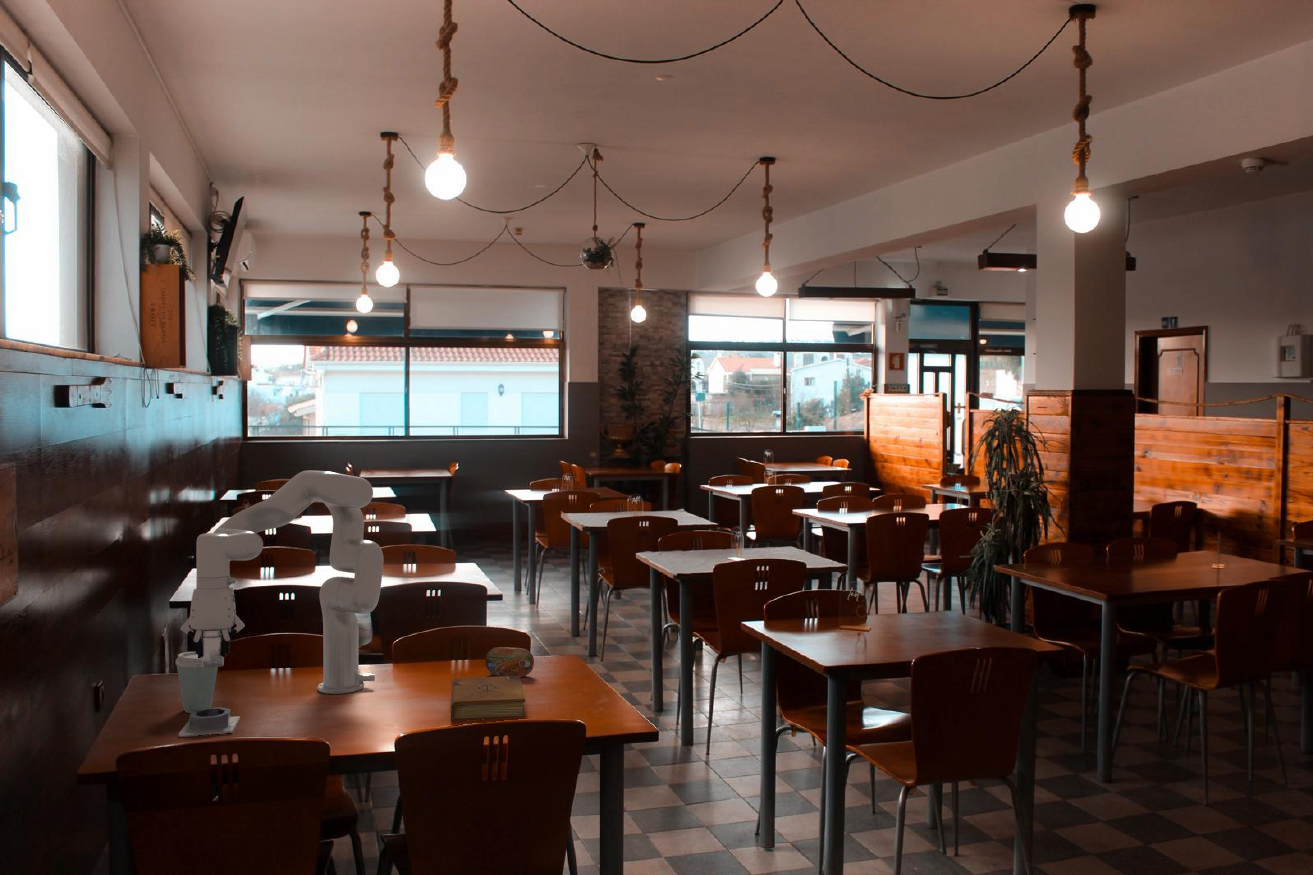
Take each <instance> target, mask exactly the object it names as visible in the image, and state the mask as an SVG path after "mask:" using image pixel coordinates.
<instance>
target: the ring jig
mask: <svg viewBox="0 0 1313 875" xmlns="http://www.w3.org/2000/svg"><path fill="white" fill-rule="evenodd" d="M231 711H232V709H231V708H226V707H221V706H220V707H219V706H218V707H211V708H204V709H201V710H197V711H193V712H192V713H190V714H189V719H188V721H187V722H186V724H185V725H184V726H183V727H182V729H181V730H180V731H179V733H178V737H179V738H182V737H184V738H185V737H198V735H203V736H212V735H211V734H220V735H224V734H223V733H227V732H230V733H231V732H233V733H234V731H235V730H236V728H237V726H238V724H239V722H240V721H241V716H239V715H238V716H232V715H231V714H232V712H231ZM239 720H240V721H239ZM237 723H238V724H237ZM234 729H235V730H234ZM205 734H206V735H205ZM207 734H209V735H207Z"/></svg>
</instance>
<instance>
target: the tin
mask: <svg viewBox="0 0 1313 875" xmlns="http://www.w3.org/2000/svg"><path fill="white" fill-rule="evenodd" d="M485 666H486V667H485V668H486V669H487V671H488V672H489V673H491V675H493V676H495V677H502V676H520V678H523V677H526V676H528V675H529V674H530V673H531V672H532V671H533V669H534V666H535V658H534V656H533V654H532V652H531V651H529V650H528V649H526V648H521V647H508V646H507V647H504V646H499V647H493V648H491V649H490V650H488V652H487V654H486V655H485Z"/></svg>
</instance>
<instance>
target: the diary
mask: <svg viewBox="0 0 1313 875" xmlns="http://www.w3.org/2000/svg"><path fill="white" fill-rule="evenodd" d="M521 678H522V677H520V676H484V677H482V676H480V677H462V678H461V677H459V678H454V679H453V680H452V681H451V689H450V690H451V692H450V695H451V696H450V700H451V701H450V703H451V704H450V721H452V722H453V723H454V722H468V721H467V720H477V721H491V720H494V721H496V720H514V719H515V720H517V719H526V713H525V709H524V703H525V702H526V696H525V691H524V687H523V684H522V679H521ZM483 719H484V720H483Z"/></svg>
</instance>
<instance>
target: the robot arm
mask: <svg viewBox="0 0 1313 875" xmlns="http://www.w3.org/2000/svg"><path fill="white" fill-rule="evenodd" d="M373 496H374V489H373V486H372V484H371V482H369V480H367V479H366V478H363V477H359V476H354V475H348V474H343V473H340V472H339V473H338V472H333V471H327V470H326V471H324V470H303V471H301V472H298V473H297V474H296V475H294V476H293V477H291V479H289V480H288V481H287V482H286V483H285V484H284V485H282V486H281V487H280V488H279V489H278V490H276V491H275V492H274V493H273V494H271V495H270V496H269V497H268V498H267V499H265V500H263V501H261V502H258V503H255V504H253V505H251V506H250V507H247V508H245V509H242V510H240V511H238V512H237V513H235V514H233V515H232V516H231V517H230V516H229V518H227V519H226V520H225V521H224V522H223V523H221V524H220V525H219V526H218V527H217V528H216V529H215V530H214V531H213V532H207V533H201V534H199V535H198V536H197V538H196V584H195V585H196V586H195V587H196V588H194V589H193V590H192V595H191V600H190V601H191V603H190V613H189V617H188V618H187V619H186V620H185V622H184V623H183V624H182V625H181V626H180V631H182V632H183V633H185V634H186V635H187V636H188V637H190V639H192V641H193V642H194V644H195V649H194V650H195V651H194V652H195V654H198V658H201V657H202V630H222V632H223V636H224V641H223V642H222V657H224V658H227V656H228V654H230V652H231V639H233V637H234V636H235V635H236V634H238V633H239V632H240V631H241V630H243V629H244V628H245V626H246V625H245V623H244V622H243V621H242V620H241V619H240V617H239V616H238V615H237V611H236V598H235V593H234V592H235V591H234V588H233V587H231V585H233V584H234V585H235V584H236V581H237V580H236V578H235V577H234V578H233V577H231V575H230V562H231V561H250V560H253V559H255V558H257V557H258V556H260V554H261V553H262V551H263V548H264V541H263V539H262V537H261V536H260V535H259V534H258V533H260V532H264V531H267V530H273V529H277V528H280V527H284V526H285V525H286V526H287V525H289V524H290V523H291V522H293V521H294V520H295V519H296V518H297V517H299V515H300V514H302V513H303V511H305V510H306V509H307V508H309V507H310V506H311V505H312V504H313V503H323V504H324V505H325V507H326V508H327V509H328V510H329V512H330V515H331V517H332V533H331V540H330V542H331V543H330V548H329V550H330V551H329V564H330V567H331V568H332V569H333V570H336V571H338V572H343V573H347V574H348V573H349V574H354V577H348V576H333V577H330V578H327V579H326V580H325V581H324V582H323V583H322V584H321V586H320V589H319V594H318V595H319V597H318V598H319V602H320V603H319V604H320V607H321V613H322V614H321V615H322V623H323V627H322V628H323V629H322V630H323V634H322V635H323V636H322V638H323V639H322V640H323V648H322V649H323V654H322V656H323V664H322V665H323V666H322V667H323V669H322V670H323V671H322V672H323V675H322V676H323V682H321V683H319V684H318V685H317V690H318V692H320V693H323V694H331V695H337V694H339V695H340V694H349V693H354V692H358V691H360V690H362V689H364V688H365V682H375V681H376V674H375V673H374V674H372V673H362V672H361V669H360V668H359V664H360V663H359V621H358V617H357V615H356V614H359V615H366V614H369V613H372V612H373V611H374V610H375V609H376V607H377V605H378V604H379V603H378V602H379V600H380V595H381V588H382V587H381V586H382V579H383V571H384V562H385V560H384V554H383V553H384V552H383V551H382V548H381V546H380V545H379V544H378V543H377V542H375V541H374V540H373V541H372V540H367V539H364V529H365V519H364V515H363V512H362V510H361V509H362V508H364V507H367V506H368V505H369V504H370V502H371V501H372V499H373ZM234 625H236V627H234V628H233V626H234ZM231 628H233V629H232V630H230V629H231Z"/></svg>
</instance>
